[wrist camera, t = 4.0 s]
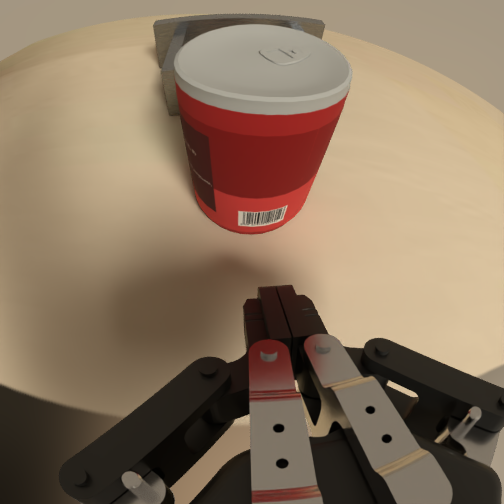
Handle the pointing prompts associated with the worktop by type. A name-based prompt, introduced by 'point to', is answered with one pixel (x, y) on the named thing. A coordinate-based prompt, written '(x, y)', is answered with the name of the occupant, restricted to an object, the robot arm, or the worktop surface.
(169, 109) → the keeper bracket
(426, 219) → the worktop surface
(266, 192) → the canned food
